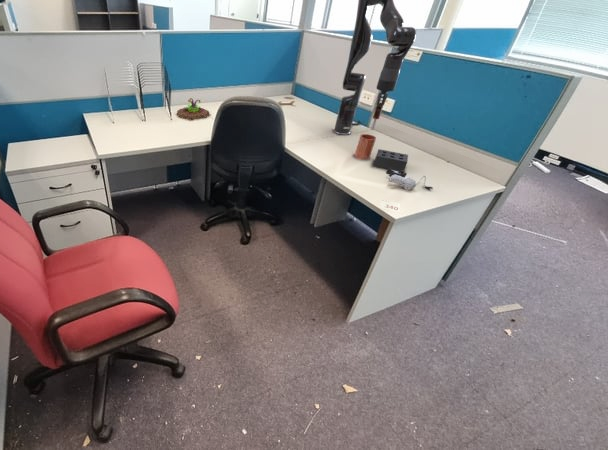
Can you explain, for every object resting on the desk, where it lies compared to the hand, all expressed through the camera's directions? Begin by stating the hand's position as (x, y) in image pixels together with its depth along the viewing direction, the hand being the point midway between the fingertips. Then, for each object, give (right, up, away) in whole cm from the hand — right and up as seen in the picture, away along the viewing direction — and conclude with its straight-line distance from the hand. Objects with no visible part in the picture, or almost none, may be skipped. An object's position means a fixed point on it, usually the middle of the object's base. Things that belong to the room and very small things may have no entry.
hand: (376, 117), depth 158 cm
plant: (-91, +22, +64) cm, 114 cm away
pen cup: (-1, -17, +13) cm, 21 cm away
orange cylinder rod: (0, -5, +4) cm, 6 cm away
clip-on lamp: (+8, -34, -11) cm, 37 cm away
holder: (+8, -23, +4) cm, 25 cm away
